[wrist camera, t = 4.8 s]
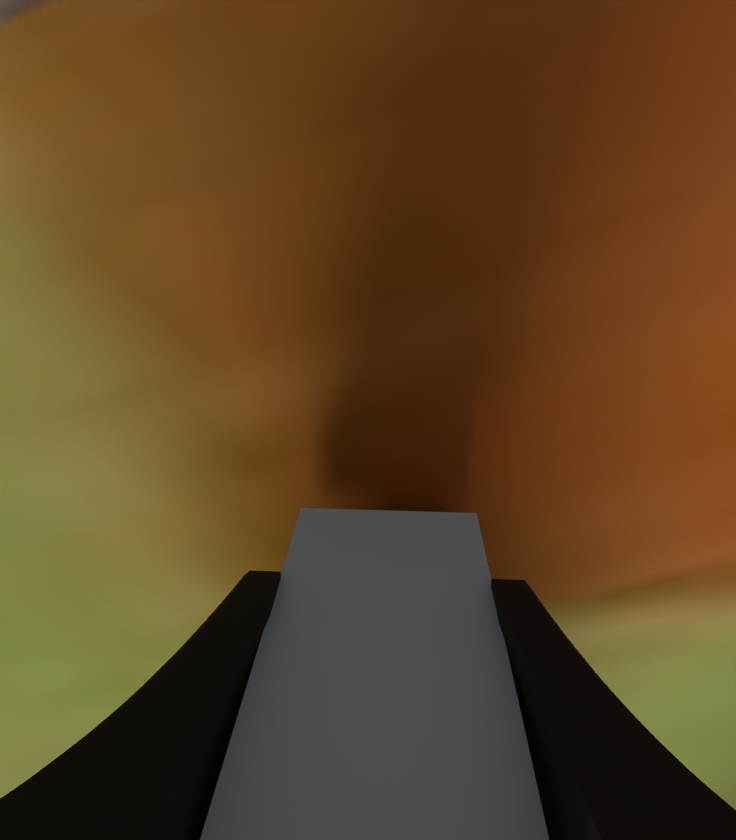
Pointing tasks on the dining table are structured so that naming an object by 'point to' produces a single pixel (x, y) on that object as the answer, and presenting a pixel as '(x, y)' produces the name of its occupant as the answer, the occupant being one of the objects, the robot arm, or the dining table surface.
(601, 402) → the dining table surface
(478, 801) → the domino
